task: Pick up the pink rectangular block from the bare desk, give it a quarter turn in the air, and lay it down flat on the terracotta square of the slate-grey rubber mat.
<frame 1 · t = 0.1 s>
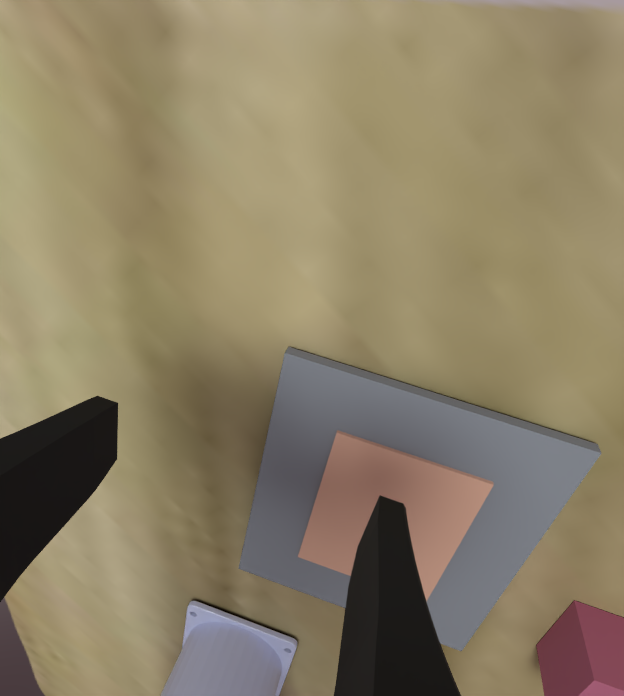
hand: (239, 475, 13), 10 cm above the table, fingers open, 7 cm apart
mat: (386, 513, 25), on the table
pink rectangular block: (614, 645, 26), on the table
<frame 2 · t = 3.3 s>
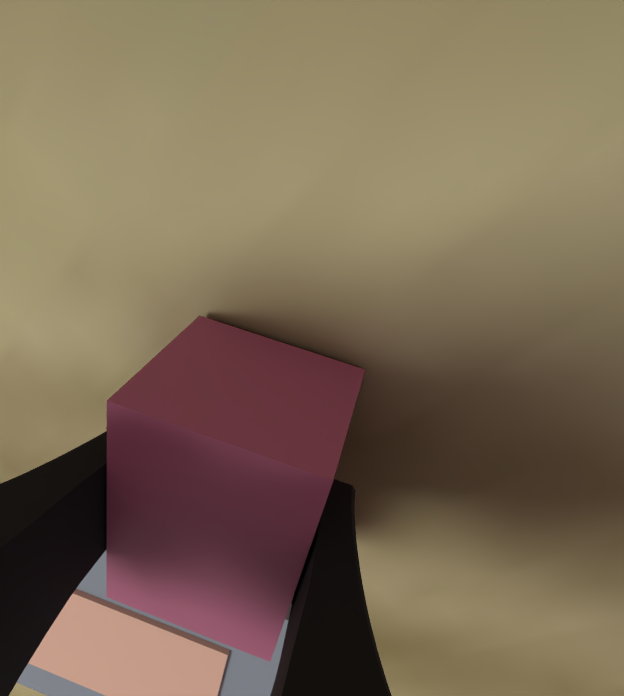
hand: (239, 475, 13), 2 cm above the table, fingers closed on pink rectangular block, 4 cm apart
mat: (124, 640, 21), on the table
pink rectangular block: (260, 436, 14), on the table, touching gripper
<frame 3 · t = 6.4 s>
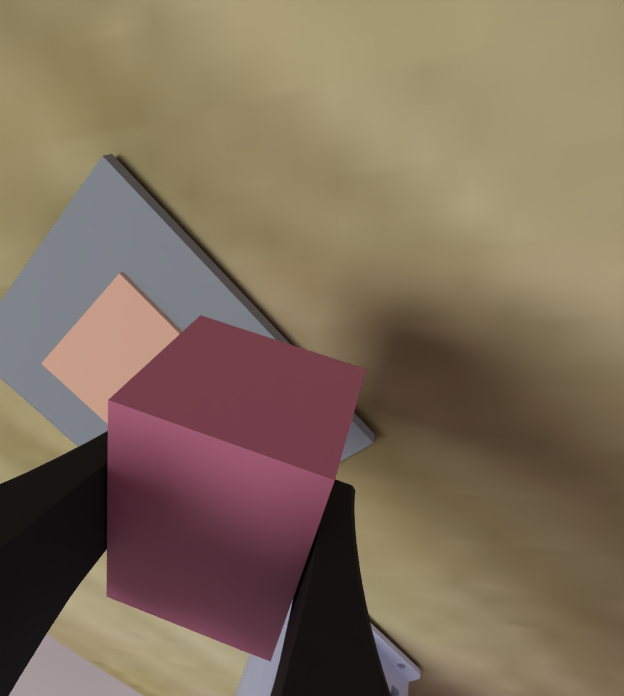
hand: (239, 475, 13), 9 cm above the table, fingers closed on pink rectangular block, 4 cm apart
mat: (161, 385, 24), on the table
pink rectangular block: (260, 435, 14), point 7 cm above the table, touching gripper
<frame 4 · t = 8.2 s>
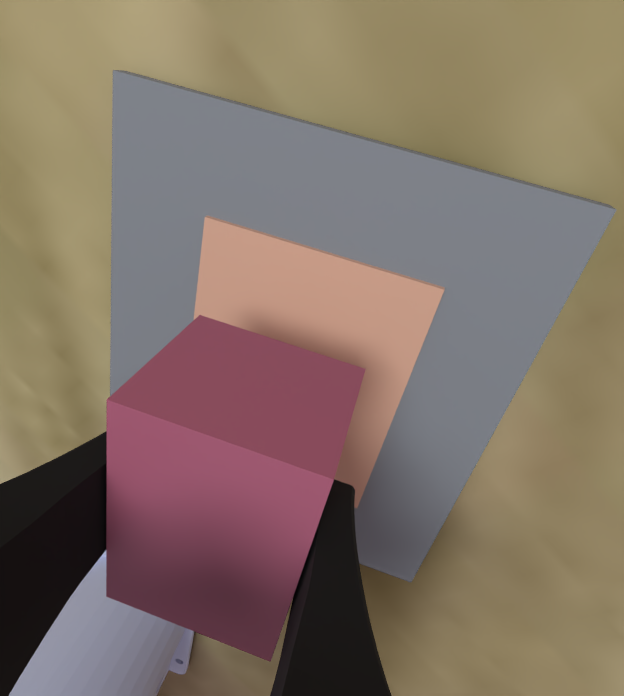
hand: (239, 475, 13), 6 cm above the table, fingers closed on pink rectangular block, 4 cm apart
mat: (296, 369, 17), on the table
pink rectangular block: (260, 435, 14), point 4 cm above the table, touching gripper
when the fingers open (4 cm above the table, at t = 9.8 s): pink rectangular block drops 1 cm, resting on mat.
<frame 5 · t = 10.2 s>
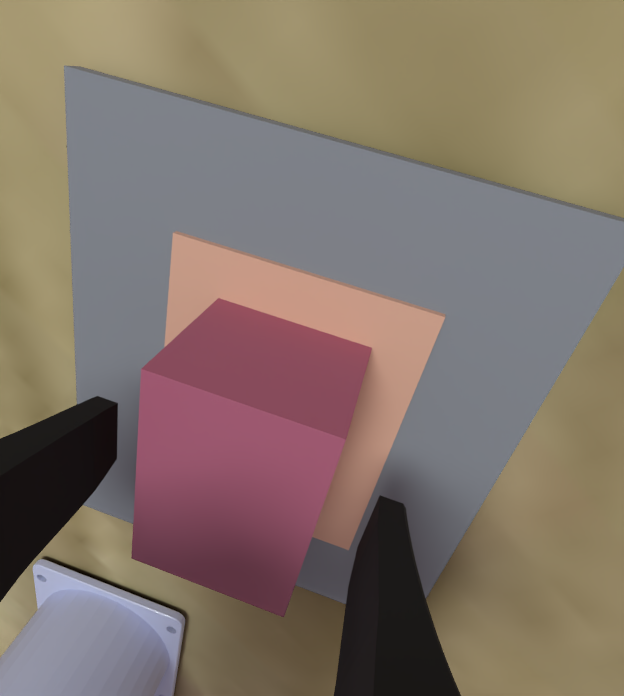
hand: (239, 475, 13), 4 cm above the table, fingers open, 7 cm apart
mat: (280, 399, 16), on the table
pink rectangular block: (272, 412, 15), point 1 cm above the table, touching mat
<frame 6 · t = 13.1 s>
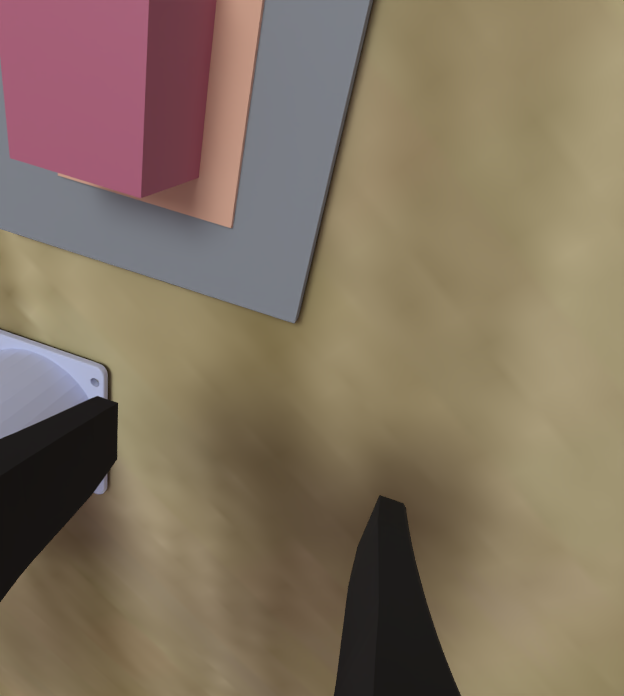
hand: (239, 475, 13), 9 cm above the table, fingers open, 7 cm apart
mat: (160, 66, 17), on the table
pink rectangular block: (148, 64, 17), point 1 cm above the table, touching mat
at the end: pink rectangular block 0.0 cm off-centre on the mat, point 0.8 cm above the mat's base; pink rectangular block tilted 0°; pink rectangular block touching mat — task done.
